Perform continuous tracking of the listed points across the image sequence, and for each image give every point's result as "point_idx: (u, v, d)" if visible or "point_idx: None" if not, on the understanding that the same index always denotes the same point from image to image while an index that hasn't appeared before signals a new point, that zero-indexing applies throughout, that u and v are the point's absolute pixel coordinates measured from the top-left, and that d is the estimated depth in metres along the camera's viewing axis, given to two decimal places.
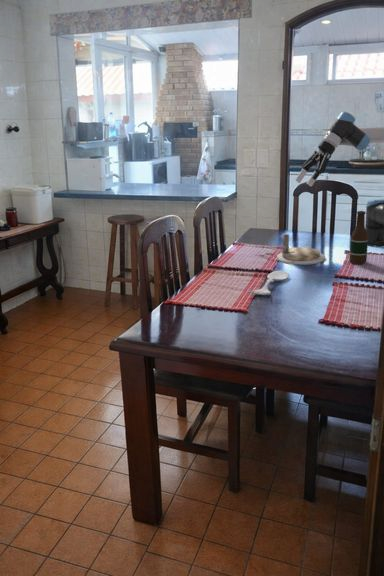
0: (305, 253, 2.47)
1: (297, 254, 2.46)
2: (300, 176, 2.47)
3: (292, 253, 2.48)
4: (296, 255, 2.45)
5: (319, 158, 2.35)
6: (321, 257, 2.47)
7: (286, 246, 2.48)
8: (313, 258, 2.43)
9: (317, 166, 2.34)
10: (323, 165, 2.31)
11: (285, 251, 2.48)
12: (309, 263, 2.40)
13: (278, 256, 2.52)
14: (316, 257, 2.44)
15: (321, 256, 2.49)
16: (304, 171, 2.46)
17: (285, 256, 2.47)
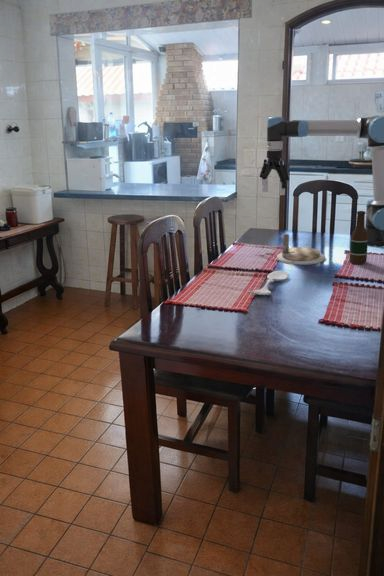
0: (305, 253, 2.47)
1: (297, 254, 2.46)
2: (265, 186, 2.64)
3: (292, 253, 2.48)
4: (296, 255, 2.45)
5: (276, 168, 2.52)
6: (321, 257, 2.47)
7: (286, 246, 2.48)
8: (313, 258, 2.43)
9: (279, 176, 2.51)
10: (285, 174, 2.49)
11: (285, 251, 2.48)
12: (309, 263, 2.40)
13: (278, 256, 2.52)
14: (316, 257, 2.44)
15: (321, 256, 2.49)
16: (265, 180, 2.63)
17: (285, 256, 2.47)
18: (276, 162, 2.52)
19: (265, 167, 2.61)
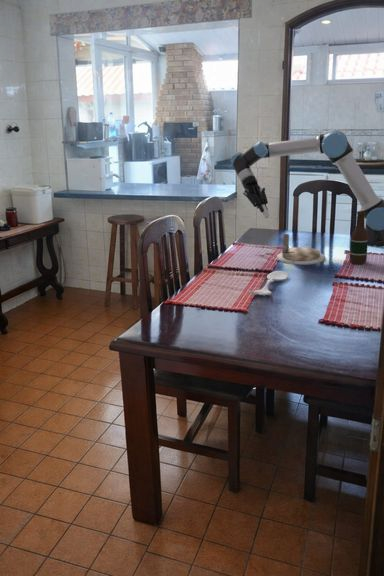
0: (305, 253, 2.47)
1: (297, 254, 2.46)
2: None
3: (292, 253, 2.48)
4: (296, 255, 2.45)
5: None
6: (321, 257, 2.47)
7: (286, 246, 2.48)
8: (313, 258, 2.43)
9: None
10: (251, 201, 2.59)
11: (285, 251, 2.48)
12: (309, 263, 2.40)
13: (278, 256, 2.52)
14: (316, 257, 2.44)
15: (321, 256, 2.49)
16: None
17: (285, 256, 2.47)
18: None
19: (262, 195, 2.64)
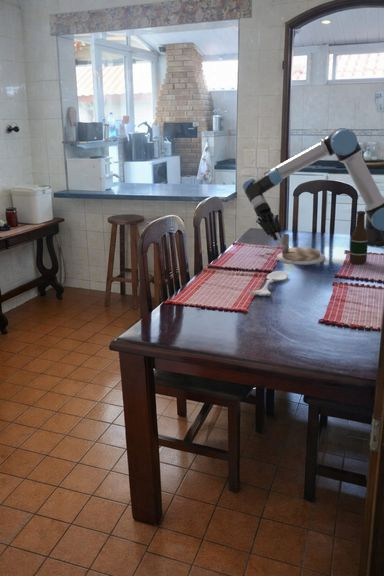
0: (305, 253, 2.47)
1: (297, 254, 2.46)
2: None
3: (292, 253, 2.48)
4: (296, 255, 2.45)
5: (264, 224, 2.57)
6: (321, 257, 2.47)
7: (286, 246, 2.48)
8: (313, 258, 2.43)
9: None
10: (265, 229, 2.53)
11: (285, 251, 2.48)
12: (309, 263, 2.40)
13: (278, 256, 2.52)
14: (316, 257, 2.44)
15: (321, 256, 2.49)
16: None
17: (285, 256, 2.47)
18: None
19: (275, 222, 2.58)
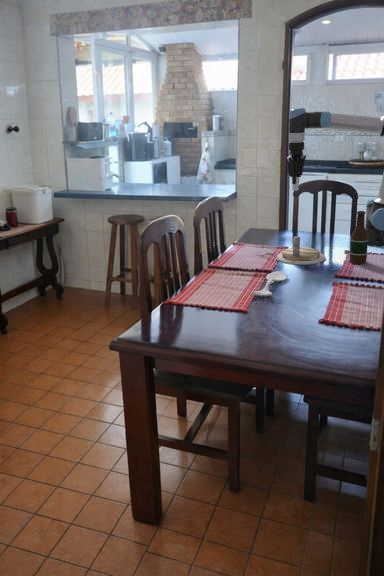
0: (308, 251, 2.50)
1: (308, 254, 2.46)
2: None
3: (302, 254, 2.45)
4: (309, 254, 2.45)
5: None
6: (321, 257, 2.47)
7: (299, 249, 2.42)
8: None
9: None
10: (289, 170, 2.53)
11: (299, 254, 2.43)
12: (309, 263, 2.40)
13: (278, 256, 2.52)
14: None
15: (321, 256, 2.49)
16: None
17: (303, 258, 2.42)
18: None
19: (300, 162, 2.57)
